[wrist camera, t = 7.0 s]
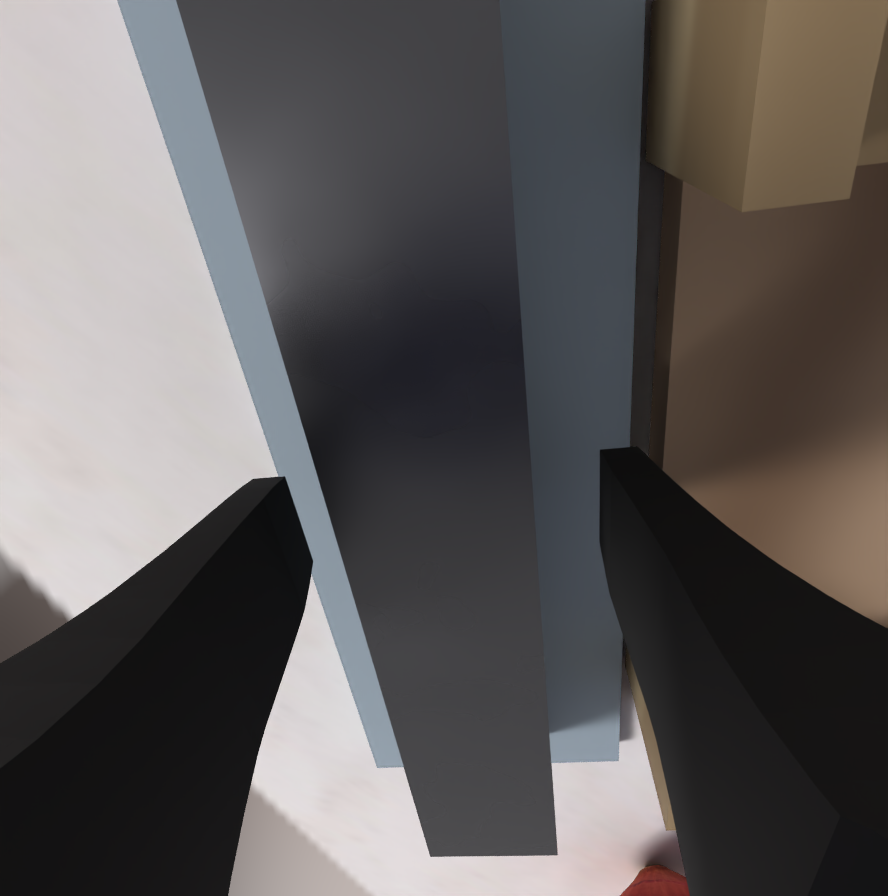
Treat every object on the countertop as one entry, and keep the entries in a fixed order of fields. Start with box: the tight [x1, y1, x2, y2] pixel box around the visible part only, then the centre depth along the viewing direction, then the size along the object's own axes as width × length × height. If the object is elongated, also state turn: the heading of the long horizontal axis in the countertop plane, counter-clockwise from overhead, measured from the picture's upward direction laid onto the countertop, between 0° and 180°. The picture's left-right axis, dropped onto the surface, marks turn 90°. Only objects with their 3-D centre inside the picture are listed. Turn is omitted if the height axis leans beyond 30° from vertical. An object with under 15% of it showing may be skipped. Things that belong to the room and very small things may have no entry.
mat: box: [117, 0, 645, 768], centre depth 12 cm, size 7×21×1 cm, turn 7°
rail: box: [176, 0, 558, 857], centre depth 11 cm, size 3×18×3 cm, turn 8°
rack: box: [625, 0, 888, 831], centre depth 9 cm, size 6×17×6 cm, turn 8°
